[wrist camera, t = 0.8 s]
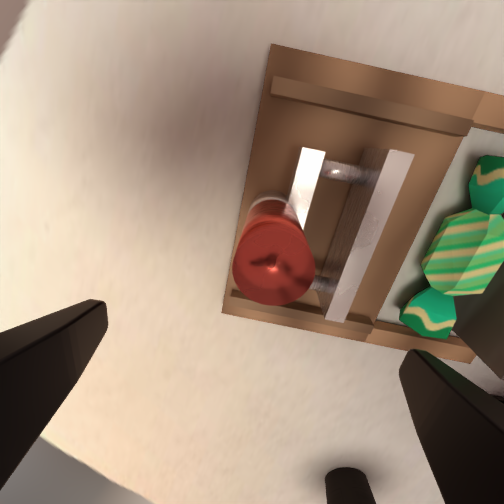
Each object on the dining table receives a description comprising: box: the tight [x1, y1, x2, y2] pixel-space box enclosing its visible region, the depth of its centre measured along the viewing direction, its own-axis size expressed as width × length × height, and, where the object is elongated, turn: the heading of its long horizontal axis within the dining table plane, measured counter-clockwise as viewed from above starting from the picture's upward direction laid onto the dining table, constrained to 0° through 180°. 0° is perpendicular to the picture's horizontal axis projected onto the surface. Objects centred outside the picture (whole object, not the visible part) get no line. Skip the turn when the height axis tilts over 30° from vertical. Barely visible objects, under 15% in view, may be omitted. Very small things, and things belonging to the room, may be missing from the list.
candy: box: [399, 155, 504, 339], centre depth 17 cm, size 12×3×4 cm
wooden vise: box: [221, 44, 504, 380], centre depth 16 cm, size 21×18×6 cm
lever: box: [232, 147, 415, 323], centre depth 13 cm, size 7×10×8 cm
